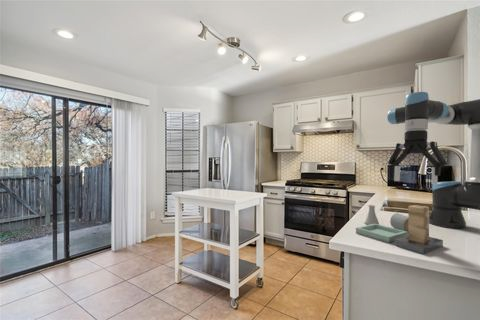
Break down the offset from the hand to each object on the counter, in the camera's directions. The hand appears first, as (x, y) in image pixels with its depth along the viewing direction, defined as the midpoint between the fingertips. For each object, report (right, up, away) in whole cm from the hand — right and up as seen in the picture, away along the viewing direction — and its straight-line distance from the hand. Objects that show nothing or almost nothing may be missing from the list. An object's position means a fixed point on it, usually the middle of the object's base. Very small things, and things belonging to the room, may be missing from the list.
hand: (414, 182), depth 95 cm
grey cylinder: (+10, -26, +20) cm, 34 cm away
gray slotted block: (+1, -26, -1) cm, 26 cm away
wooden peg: (+1, -26, -1) cm, 26 cm away
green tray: (-7, -26, +12) cm, 29 cm away
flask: (0, -26, +30) cm, 40 cm away
